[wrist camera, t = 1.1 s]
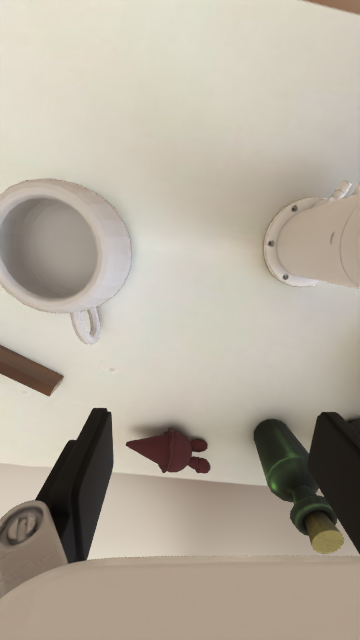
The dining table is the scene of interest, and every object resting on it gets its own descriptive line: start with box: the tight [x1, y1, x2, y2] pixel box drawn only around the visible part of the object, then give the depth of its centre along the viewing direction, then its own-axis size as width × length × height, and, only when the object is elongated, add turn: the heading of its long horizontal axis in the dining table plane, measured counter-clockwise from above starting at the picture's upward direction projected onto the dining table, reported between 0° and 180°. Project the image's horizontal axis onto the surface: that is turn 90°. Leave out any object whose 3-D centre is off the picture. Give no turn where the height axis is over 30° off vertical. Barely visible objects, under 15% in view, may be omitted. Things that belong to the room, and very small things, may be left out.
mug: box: [0, 179, 132, 345], centre depth 33 cm, size 21×17×10 cm
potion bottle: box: [254, 420, 344, 554], centre depth 38 cm, size 8×8×18 cm
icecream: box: [126, 428, 210, 473], centre depth 43 cm, size 7×7×15 cm
